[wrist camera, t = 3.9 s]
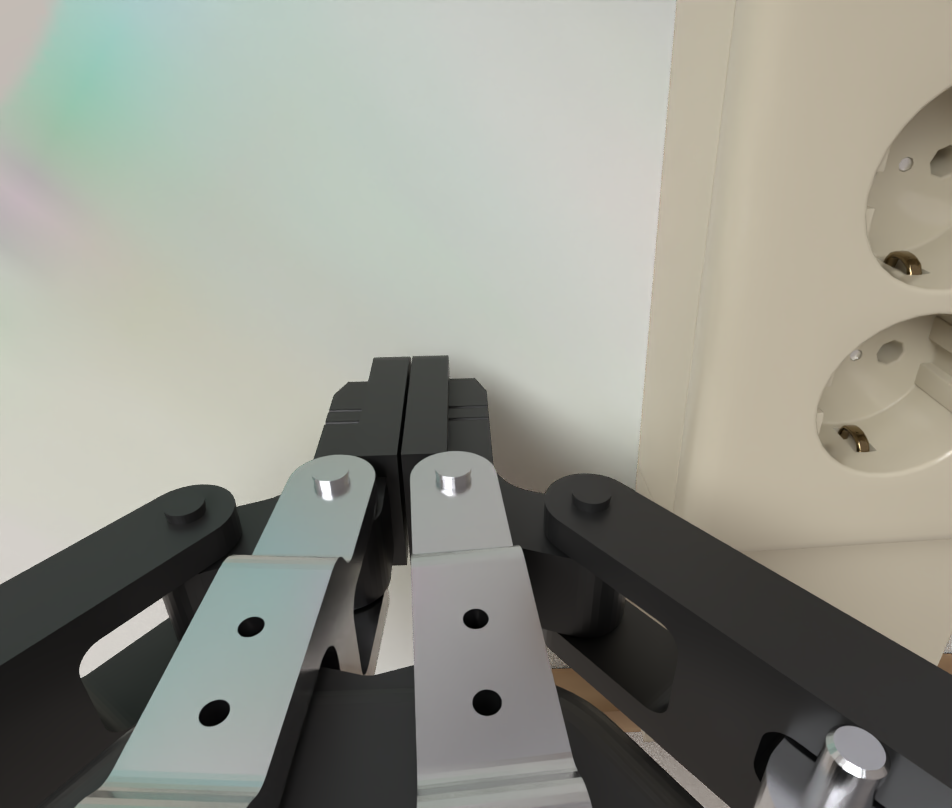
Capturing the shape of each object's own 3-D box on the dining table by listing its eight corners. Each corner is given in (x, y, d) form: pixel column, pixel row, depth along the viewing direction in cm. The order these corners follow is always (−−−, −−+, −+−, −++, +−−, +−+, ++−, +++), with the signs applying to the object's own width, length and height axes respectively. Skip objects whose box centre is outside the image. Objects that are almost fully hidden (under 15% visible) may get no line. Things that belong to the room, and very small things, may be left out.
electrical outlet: (653, 776, 17) (777, -104, 8) (618, 645, 20) (675, -66, 11) (932, 758, 17) (1383, -143, 8) (849, 631, 20) (1091, -92, 11)
